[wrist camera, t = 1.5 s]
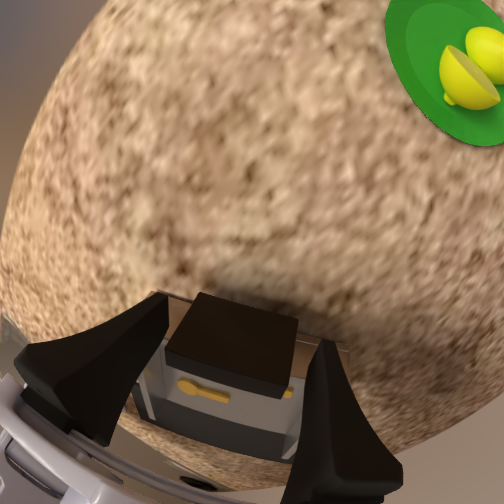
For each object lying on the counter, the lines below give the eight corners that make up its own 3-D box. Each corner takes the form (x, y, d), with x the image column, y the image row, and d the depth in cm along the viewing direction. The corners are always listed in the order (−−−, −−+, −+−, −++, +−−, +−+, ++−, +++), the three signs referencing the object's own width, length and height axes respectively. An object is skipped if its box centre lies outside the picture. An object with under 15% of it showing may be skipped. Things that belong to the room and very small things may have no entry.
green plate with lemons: (489, 178, 9) (521, 196, 7) (351, 72, 9) (362, 58, 6) (535, 64, 5) (566, 63, 3) (412, -41, 5) (428, -67, 2)
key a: (178, 387, 20) (177, 390, 19) (177, 375, 19) (176, 378, 18) (228, 403, 19) (227, 406, 19) (230, 392, 18) (229, 396, 18)
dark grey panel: (141, 416, 28) (140, 418, 27) (128, 379, 23) (127, 381, 23) (302, 463, 25) (301, 465, 25) (331, 437, 21) (331, 440, 21)
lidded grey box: (293, 430, 21) (283, 481, 16) (163, 392, 22) (139, 436, 17) (364, 317, 14) (372, 400, 9) (150, 260, 15) (94, 318, 10)
